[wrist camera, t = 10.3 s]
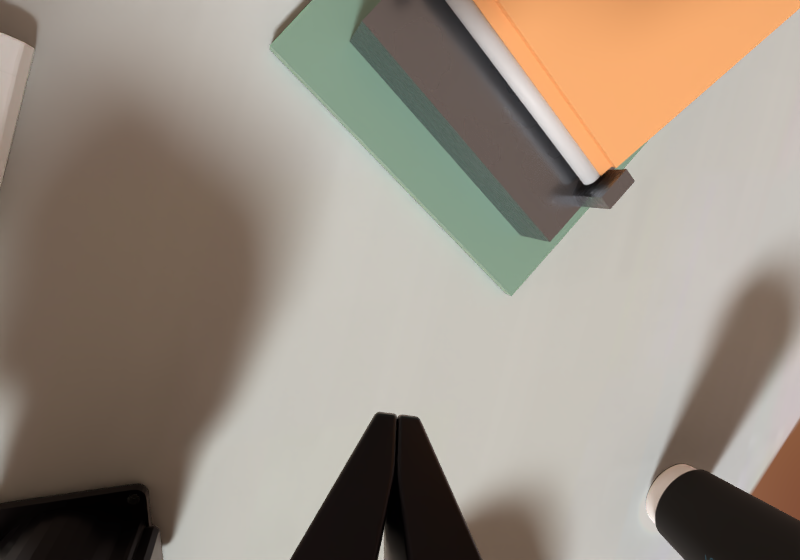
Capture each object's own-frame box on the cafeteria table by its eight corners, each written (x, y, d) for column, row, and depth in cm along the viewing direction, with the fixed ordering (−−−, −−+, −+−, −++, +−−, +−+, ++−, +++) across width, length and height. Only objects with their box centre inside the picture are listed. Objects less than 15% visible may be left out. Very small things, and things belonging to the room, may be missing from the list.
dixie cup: (608, 530, 30) (786, 711, 20) (665, 430, 30) (878, 563, 19) (679, 551, 33) (867, 719, 23) (732, 460, 32) (948, 590, 22)
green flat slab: (505, 293, 24) (511, 296, 23) (269, 49, 18) (269, 45, 17) (765, -2, 24) (776, -6, 24) (619, -326, 19) (630, -342, 18)
